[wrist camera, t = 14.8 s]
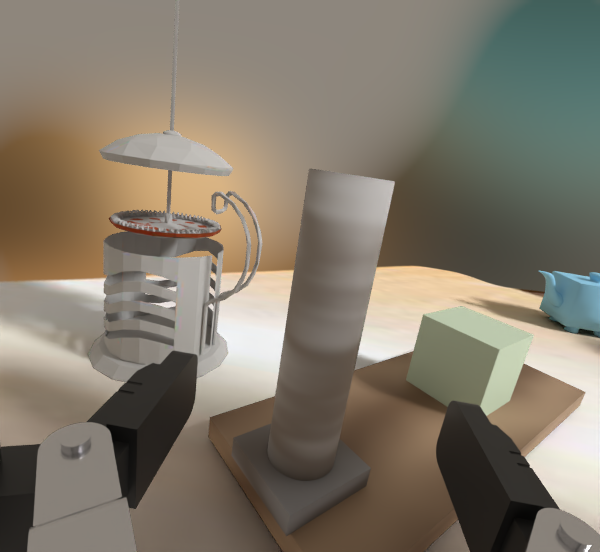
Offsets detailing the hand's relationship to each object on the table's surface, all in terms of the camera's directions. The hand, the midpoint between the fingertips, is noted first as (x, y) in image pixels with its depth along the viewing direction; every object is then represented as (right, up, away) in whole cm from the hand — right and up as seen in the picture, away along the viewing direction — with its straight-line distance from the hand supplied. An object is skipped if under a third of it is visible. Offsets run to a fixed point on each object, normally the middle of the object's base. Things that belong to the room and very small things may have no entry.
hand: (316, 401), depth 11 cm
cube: (+10, -4, +14) cm, 18 cm away
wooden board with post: (+8, -6, +12) cm, 15 cm away
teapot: (+35, -3, +36) cm, 50 cm away
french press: (-10, -2, +16) cm, 19 cm away
